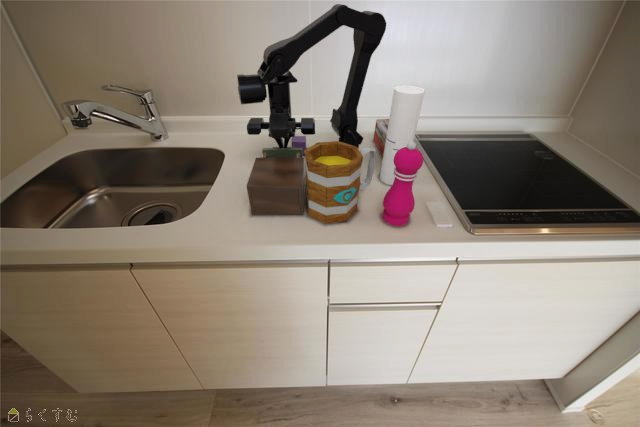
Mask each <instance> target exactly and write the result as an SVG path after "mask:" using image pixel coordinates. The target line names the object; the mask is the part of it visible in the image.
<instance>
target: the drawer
mask: <svg viewBox="0 0 640 427" xmlns="http://www.w3.org/2000/svg"><path fill="white" fill-rule="evenodd" d="M261 152H262V158H304V157H303V156H304V155H303V152H302V148H296V147H292V146H287V148H279V146H272V147H262V148H261Z"/></svg>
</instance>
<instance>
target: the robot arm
mask: <svg viewBox="0 0 640 427" xmlns="http://www.w3.org/2000/svg"><path fill="white" fill-rule="evenodd" d="M343 26H344V27H347V28H350V29H353V33H352V34H353V35H352V41H353V55H352V59H351V63H350V67H349V70H348V74H347V79H346V83H345V88H344V91H343V95H342V101H341V104H340V105H339V107H338V108H337V109H336V108H333V109H332V114H331V118H330V120H329V122H330V123H331V129H332V130H333V131H334V132H335V134H336V135H337V137H338V141H340V142H343V143H346V144H349V145H353V146H356V147H358V149H359V148H360V145H362V143H363V140H364V136H362V135H361V134H360V133H359V132H358V131H357V130H358V123H359V119H358V118H359V117H358V107H359V104H360V103H359V102H360V99H361V96H362V91H363V89H364V84H365V81H366V78H367V74H368V70H369V67H370V66H369V65H370V64H371V59H372V55H373V54H374V53H375V52H376V50H377V48H378V47H380V46H379V45H380V44H381V41H382V39H383V38H384V35H385V32H386V29H387V21H386V18H385V17H384V15H383V14H382V13H380V12H377V11H376V12H375V11H371V10H363V11H359V10H358V9H357V10H356V9H354V8H351V7H349V6H348V5H346V4H342V3H336V4H334V5H333V6H332V7H331V8H330V9H329V10H327V11H326V12H325V13H323V14H322V15H320V16H319V17H318V18H316V19H314V21H312V22H311V23H309V24H308V25H307V26H305V27H304V28H302V29H301V30H299V31H298V32H297V33H296V34H294V35H293V36H290V37H287V38H284V39H281V40H279V41H276V42H275V43H271V44H270V45H268V46H267V47H266V48H265V49H264V51H263V56H262V57H263V58H262V59H263V60H262V62H261V64H260V66H259V68H258V70H257V71H256V73H255V74H254V73H253V74H243V73H242V74H237V76H236V77H237V92H238V98H239V102H240V105H241V106H242V105H251V104H261V103H264V101H266V99H267V98H268V106H269V116H268V121H265V120H264V118H263V117H251V118H249V120H248V122H247V124H246V132H247V135H250V136H251V135H253V136H254V135H255V136H259V135H260V134H261V133H262V130H267V131H268V137H269V138H271V139H273V140H274V141H275V143H276V144H277V145H278V146H277V147H279V148H287V147H289V146H288V145H289V142H290V140H291V139H292V137H294V136H296V131H297V130H300V133H301V134H302V135H303V136H306V135H307V136H310V135H311V136H312V135H316V120H315V118H314V117H301V118H300V121H296V118H295V117H292V103H291V102H292V101H291V84H293V83H294V84H295V83H298V79H297V78H296V76H294V75H293V73H292V72H291V71H290V70H291V69H292V68H293V67H294V66H295V65H296V64H297V62H298V61H299V59H300V58H301V56H302V55H304V53H306V52H307V51H309V50H310V49H312V48H313V47H314V46H316V45H317V44H319V43H320V42H321V41H323V40H324V39H326V38H327V37H328V36H330V35H331V34H333V33H334V32H336V31H338V29H339V28H341V27H343ZM359 150H360V149H359Z"/></svg>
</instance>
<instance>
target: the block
mask: <svg viewBox="0 0 640 427" xmlns="http://www.w3.org/2000/svg"><path fill="white" fill-rule="evenodd" d="M291 147H296V148H302V152H303V156H305V153H304V150H306V149H307V136H306V135H295V136H294V137H291Z"/></svg>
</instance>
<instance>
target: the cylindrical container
mask: <svg viewBox="0 0 640 427" xmlns="http://www.w3.org/2000/svg"><path fill="white" fill-rule="evenodd" d="M425 91H426V90H425V89H424V88H423V87H420V86H417V85H410V84H403V85H396V86H394V88H393V94H392V100H391V104H390V113H389V118H388V119H389V124H388V130H387V136H386V142H385V149H384V155H383V156H382V162H381V168H380V173H379V179H380V181H381V182H382V183H384V184H386V185H390V186H392V185H393V183H394V179H395V176H394V175H393V172H394V168H395V165H394V162H393V161H394V156H395V154H396V152H397V151H398V150H399V149H401V148H404V147H407V144H408V143H409V142H411V141H412V142H415V136H416V132H417V128H418V122H419V119H420V113H421V110H422V105H423V100H424V98H425Z"/></svg>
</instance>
